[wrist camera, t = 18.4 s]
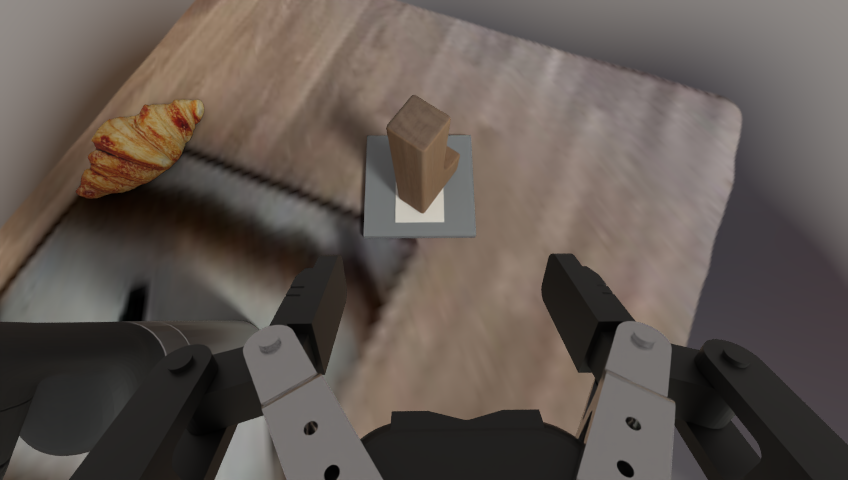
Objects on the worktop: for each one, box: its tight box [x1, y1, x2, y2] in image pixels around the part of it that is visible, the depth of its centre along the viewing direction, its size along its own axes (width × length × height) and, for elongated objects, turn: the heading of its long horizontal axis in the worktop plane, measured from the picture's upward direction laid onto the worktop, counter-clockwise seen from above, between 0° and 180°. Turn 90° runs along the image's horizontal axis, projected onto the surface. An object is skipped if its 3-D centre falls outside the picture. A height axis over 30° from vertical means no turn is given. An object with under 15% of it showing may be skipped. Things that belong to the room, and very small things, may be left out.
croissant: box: [76, 99, 204, 199], centre depth 47 cm, size 21×10×8 cm, turn 141°
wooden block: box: [386, 95, 460, 213], centre depth 38 cm, size 9×4×18 cm, turn 145°
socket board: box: [364, 135, 476, 238], centre depth 48 cm, size 16×16×1 cm
